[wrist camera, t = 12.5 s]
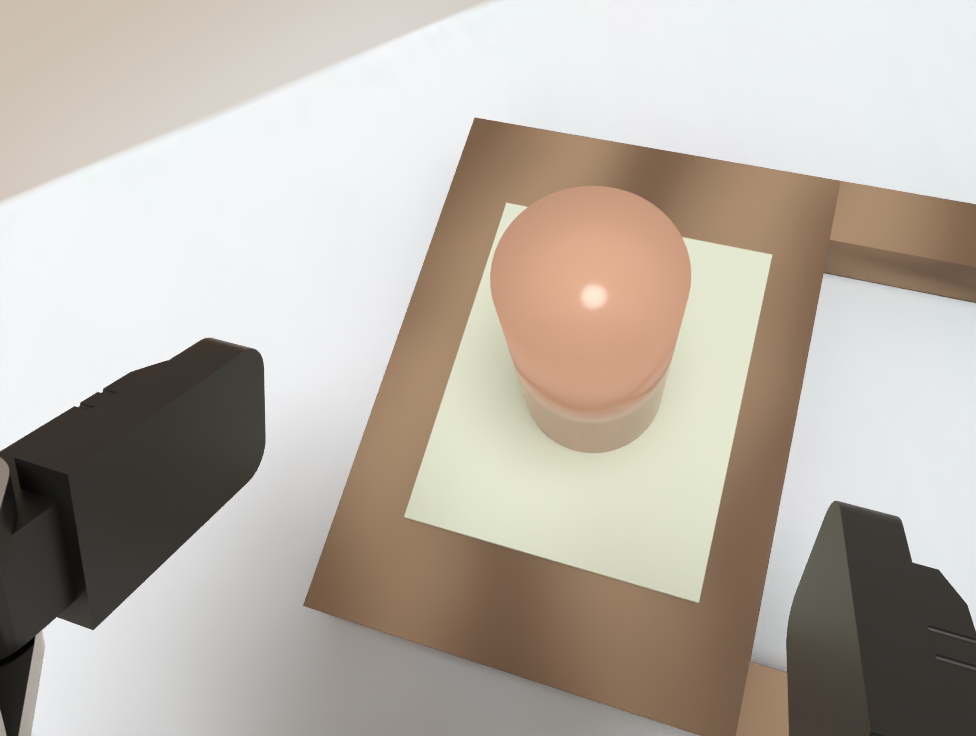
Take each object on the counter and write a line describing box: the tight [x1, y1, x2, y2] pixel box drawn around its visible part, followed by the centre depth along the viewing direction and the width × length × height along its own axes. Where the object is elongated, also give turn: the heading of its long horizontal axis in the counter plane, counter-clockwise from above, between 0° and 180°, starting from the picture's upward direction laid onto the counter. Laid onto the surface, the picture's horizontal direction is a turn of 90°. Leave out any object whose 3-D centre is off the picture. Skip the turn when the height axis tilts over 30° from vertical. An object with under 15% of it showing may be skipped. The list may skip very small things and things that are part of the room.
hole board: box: [303, 118, 976, 736], centre depth 22 cm, size 24×16×2 cm, turn 73°
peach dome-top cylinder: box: [490, 186, 691, 453], centre depth 19 cm, size 4×4×8 cm
